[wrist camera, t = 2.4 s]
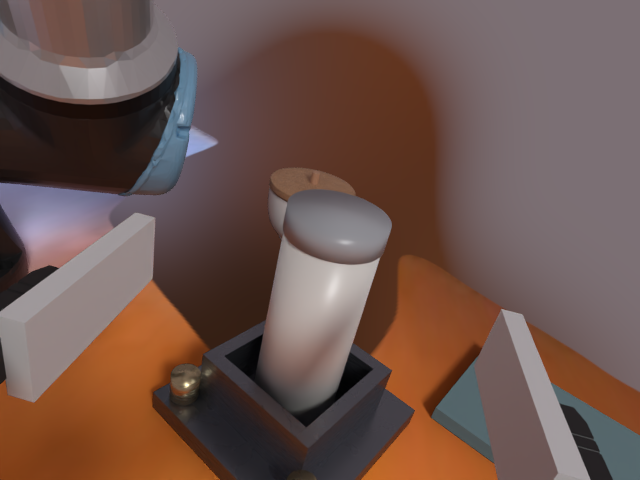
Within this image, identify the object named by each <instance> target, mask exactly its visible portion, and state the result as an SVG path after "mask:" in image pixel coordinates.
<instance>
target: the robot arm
mask: <svg viewBox="0 0 640 480" xmlns="http://www.w3.org/2000/svg"><path fill="white" fill-rule="evenodd" d="M196 88H197V63H196V59H195V58H194V56H193V55H191V54H190V53H188V52H185V51H184V50H183V49H181V48H180V47H178V42H177V38H176V34H175V30H174V27H173V26H172V24H171V22H170V20H169V19H168V18H167V16H166V15H165V14H164V12H163V11H161V9H160V8H159V7H158V6H157V5H156V4H154V0H0V183H10V184H22V185H33V186H43V187H53V188H62V189H72V190H82V191H92V192H102V193H111V194H118V195H120V196H130V195H132V194H139V195H161V194H164V193H167V192H168V191H170V190H171V189H172V188H173V187H174V186H175V185H176V183H177V181H178V179H179V177H180V174H181V171H182V168H183V164H184V160H185V156H186V152H187V147H188V141H189V130H190V128H191V123H192V118H193V113H194V106H195V98H196ZM154 233H155V218H154V217H151V216H147V215H143V214H140V213H135V214H133V215H132V216H130V217H129V218H128V219H126V220H125V221H124V222H122V223H121V224H119V225H118V226H117V227H115V228H114V229H112V230H111V231H110V232H108V233H107V234H106V235H104V236H103V237H101V238H100V239H99V240H97V241H96V242H95V243H93V244H92V245H91V246H89V247H88V248H86V249H85V250H84V251H82V252H81V253H80V254H78V255H77V256H75V257H74V258H73V259H71V260H70V261H69V262H67V263H66V264H65V265H63V266H62V267H60V268H57V267H53V266H50V265H49V266H46V267H44V268H41V269H38V270H35V271H32V272H31V273H29V274H28V269H27V260H26V252H25V248H24V245H23V243H22V241H21V239H20V237H19V236H18V234H17V232H16V230H15V229H14V227H13V225H12V224H11V222H10V220H9V219H8V217H7V215H6V213H5V212H4V210H3V208H2V207H1V205H0V384H1V383H2V382H3V381H4V380H6V387H7V393H8V395H10V396H13V397H16V398H20V399H23V400H27V401H30V402H35V401H36V400H37V399H38V398H39V397H40V396H41V395H42V394H43V393H44V392H45V391H46V390H47V389H48V388H49V386H50V385H51V384H52V383H53V382H54V381H55V380H56V379H57V378H58V377H59V376H60V375H61V374H62V373H63V372H64V371H65V370H66V369H67V368H68V367H69V366H70V364H71V363H72V362H73V361H74V360H75V359H76V358H77V357H78V356H79V355H80V354H81V353H82V352H83V351H84V350H85V349H86V348H87V347H88V346H89V345H90V344H91V343H92V341H93V340H94V339H95V338H96V337H97V336H98V335H99V334H100V333H101V332H102V331H103V330H104V329H105V328H106V327H107V326H108V325H109V324H110V323H111V322H112V321H113V319H114V318H115V317H116V316H117V315H118V314H119V313H120V312H121V311H122V310H123V309H124V308H125V307H126V306H127V305H128V304H129V303H130V302H131V301H132V300H133V299H134V297H135V296H136V295H137V294H138V293H139V292H140V291H141V290H142V289H143V288H144V287H145V286H146V285H147V284H148V283H149V282H150V281H151V280H152V278H153V255H154ZM27 274H28V275H27ZM474 368H475V373H476V378H477V383H478V387H479V392H480V397H481V401H482V406H483V411H484V416H485V420H486V425H487V430H488V435H489V439H490V444H491V449H492V453H493V458H494V463H495V468H496V472H497V477H498V480H613V478H612V476H611V474H610V472H609V470H608V467H607V465H606V463H605V461H604V459H603V457H602V454H600V450H599V448H598V446H597V444H596V441H594V437H593V435H592V433H591V431H590V428H589V426H588V424H587V422H586V421H585V420H584V419H583V418H582V416H581V415H580V414H579V413H578V412H577V411H576V409H575V408H574V407H571V406H567V405H563V404H560V403H559V402H558V400H557V397H556V395H555V392H554V390H553V387H552V385H551V383H550V380H549V378H548V375H547V373H546V370H545V368H544V366H543V363H542V361H541V358H540V356H539V353H538V351H537V349H536V346H535V344H534V341H533V339H532V336H531V334H530V332H529V329H528V327H527V324H526V322H525V320H524V317H523V315H522V314H518V313H515V312H511V311H507V310H503V309H501V311H500V313H499V315H498V317H497V319H496V321H495V323H494V325H493V327H492V330H491V332H490V334H489V336H488V338H487V340H486V342H485V344H484V346H483V348H482V350H481V352H480V354H479V356H478V358H477V360H476V362H475V365H474Z"/></svg>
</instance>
